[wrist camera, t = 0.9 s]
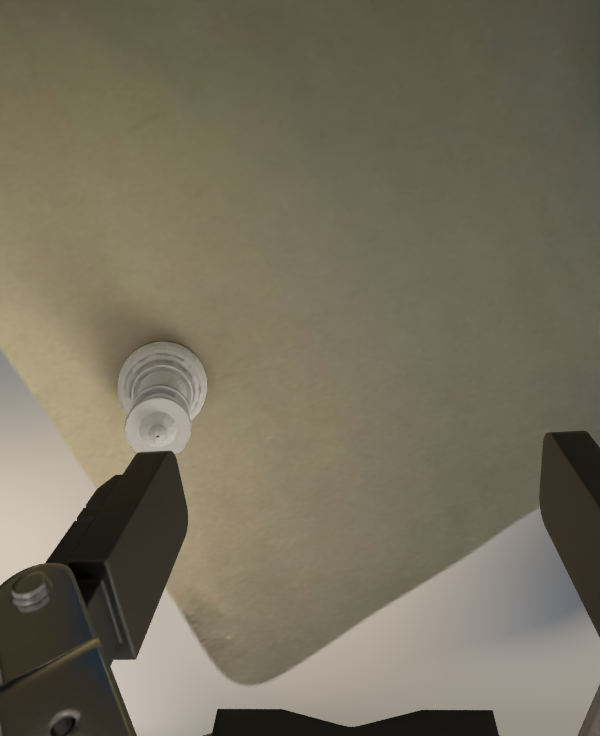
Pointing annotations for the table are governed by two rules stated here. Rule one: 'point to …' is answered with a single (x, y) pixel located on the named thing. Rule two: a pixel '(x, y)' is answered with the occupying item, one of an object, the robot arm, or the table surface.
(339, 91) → the table surface
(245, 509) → the table surface
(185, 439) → the chess piece
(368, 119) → the table surface
